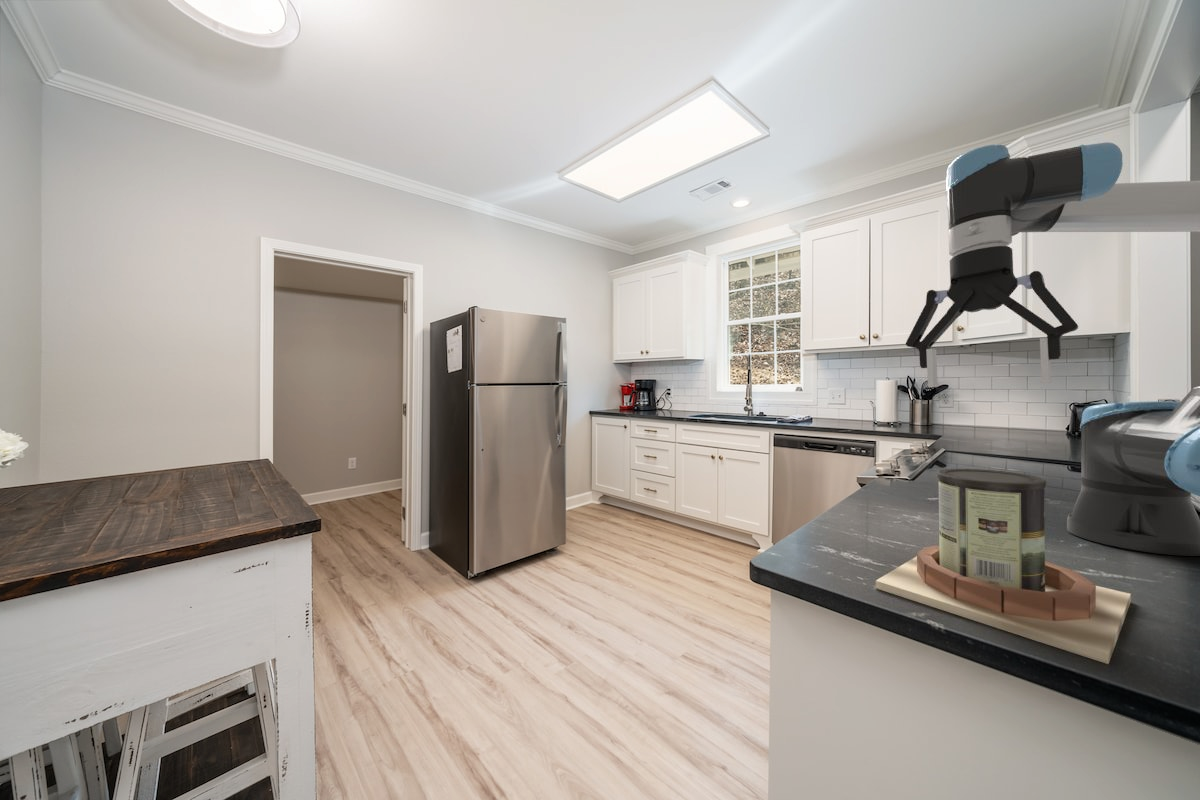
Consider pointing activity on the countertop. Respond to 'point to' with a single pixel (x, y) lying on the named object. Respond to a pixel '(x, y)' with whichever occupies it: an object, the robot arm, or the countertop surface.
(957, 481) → the coffee can
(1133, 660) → the countertop surface
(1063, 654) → the countertop surface
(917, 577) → the ring holder
